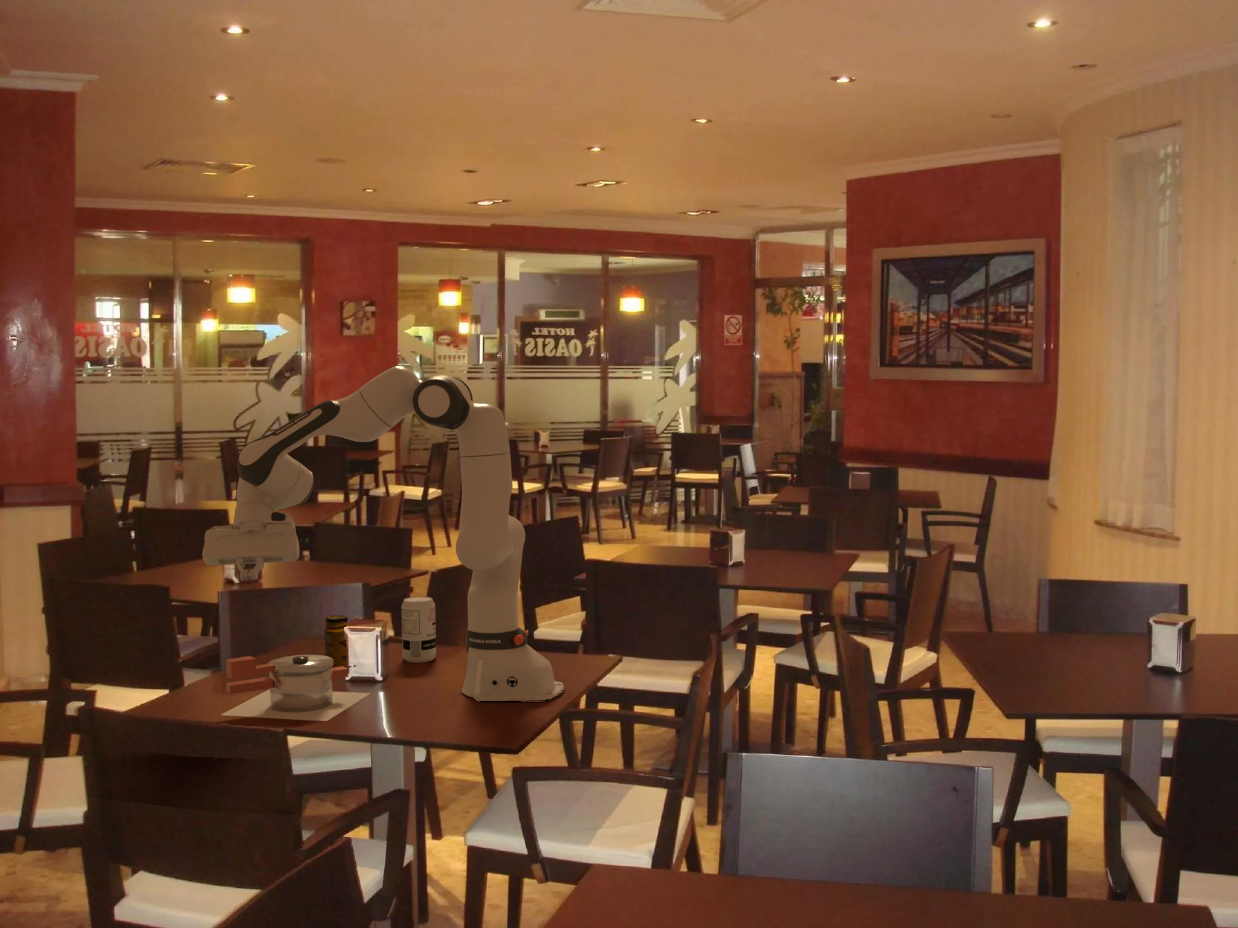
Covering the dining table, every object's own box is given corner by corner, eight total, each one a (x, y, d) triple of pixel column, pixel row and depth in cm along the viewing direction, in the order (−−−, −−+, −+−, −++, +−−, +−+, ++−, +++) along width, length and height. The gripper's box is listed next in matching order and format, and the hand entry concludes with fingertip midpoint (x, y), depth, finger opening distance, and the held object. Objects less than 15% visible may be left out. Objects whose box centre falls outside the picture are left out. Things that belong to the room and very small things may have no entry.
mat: (370, 694, 282) (370, 693, 282) (326, 722, 261) (326, 720, 261) (271, 689, 287) (271, 688, 287) (220, 716, 266) (220, 714, 266)
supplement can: (400, 656, 318) (399, 597, 317) (433, 654, 321) (432, 595, 319) (405, 664, 311) (403, 603, 309) (438, 661, 313) (437, 601, 312)
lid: (317, 656, 283) (316, 639, 282) (343, 667, 272) (343, 650, 272) (217, 671, 269) (216, 654, 269) (241, 684, 258) (240, 666, 258)
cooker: (352, 696, 280) (351, 660, 279) (311, 721, 260) (310, 682, 260) (269, 691, 284) (267, 656, 284) (222, 716, 265) (220, 678, 264)
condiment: (356, 666, 309) (355, 617, 308) (323, 671, 305) (321, 621, 304) (345, 660, 315) (344, 612, 314) (312, 665, 311) (310, 616, 310)
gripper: (202, 518, 278) (195, 573, 270) (298, 514, 280) (293, 568, 272) (209, 534, 283) (202, 588, 275) (302, 530, 285) (298, 583, 277)
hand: (248, 578), depth 273 cm, fingers closed
